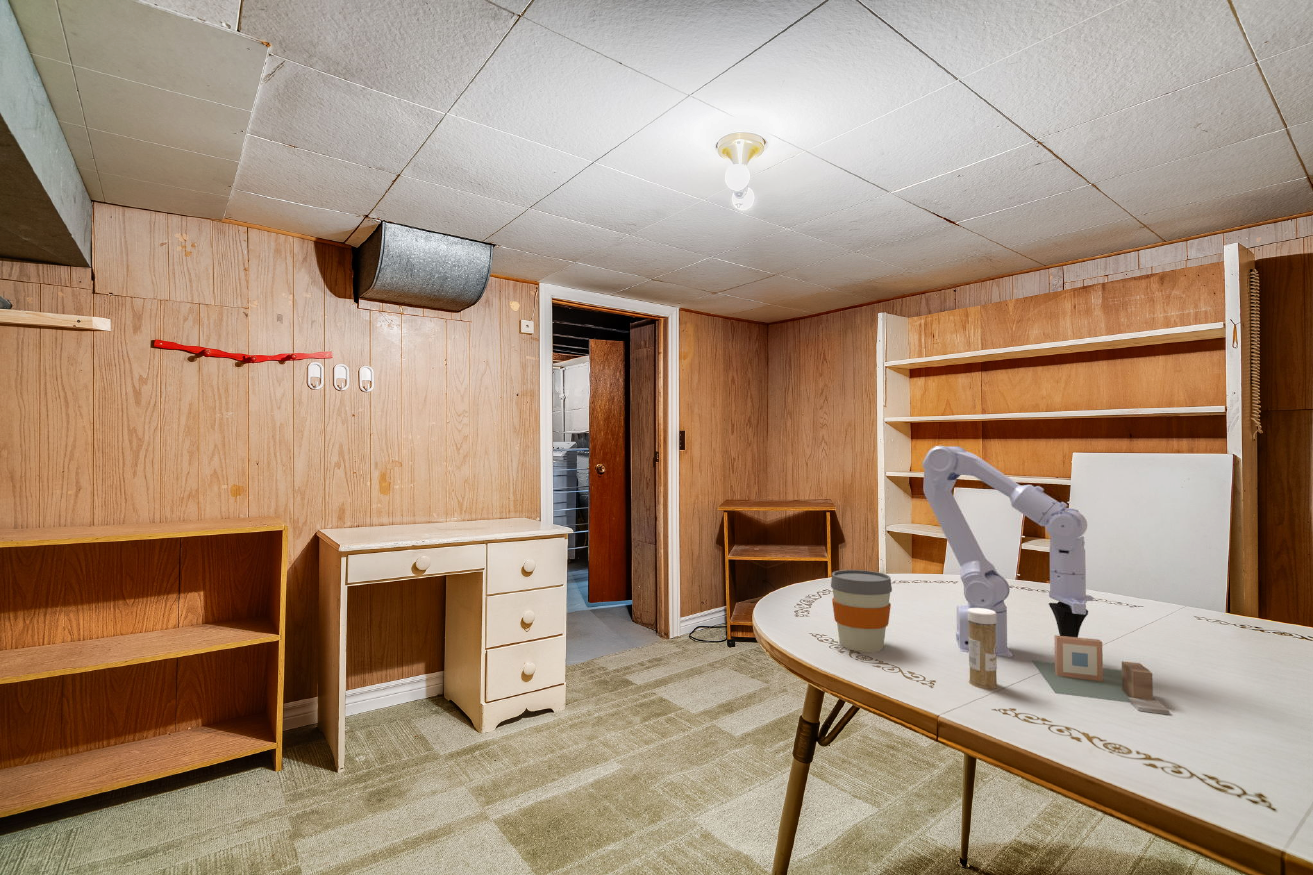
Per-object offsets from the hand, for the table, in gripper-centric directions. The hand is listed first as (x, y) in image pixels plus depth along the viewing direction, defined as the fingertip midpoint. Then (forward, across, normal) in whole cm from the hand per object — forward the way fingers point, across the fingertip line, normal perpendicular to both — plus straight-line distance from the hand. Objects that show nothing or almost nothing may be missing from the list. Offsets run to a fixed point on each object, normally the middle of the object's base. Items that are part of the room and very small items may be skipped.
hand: (1068, 642), depth 114 cm
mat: (+5, -8, -2) cm, 9 cm away
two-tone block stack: (+5, -15, -7) cm, 17 cm away
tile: (+4, -6, 0) cm, 8 cm away
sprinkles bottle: (+5, -16, +17) cm, 24 cm away
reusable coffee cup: (+5, 0, +38) cm, 38 cm away
